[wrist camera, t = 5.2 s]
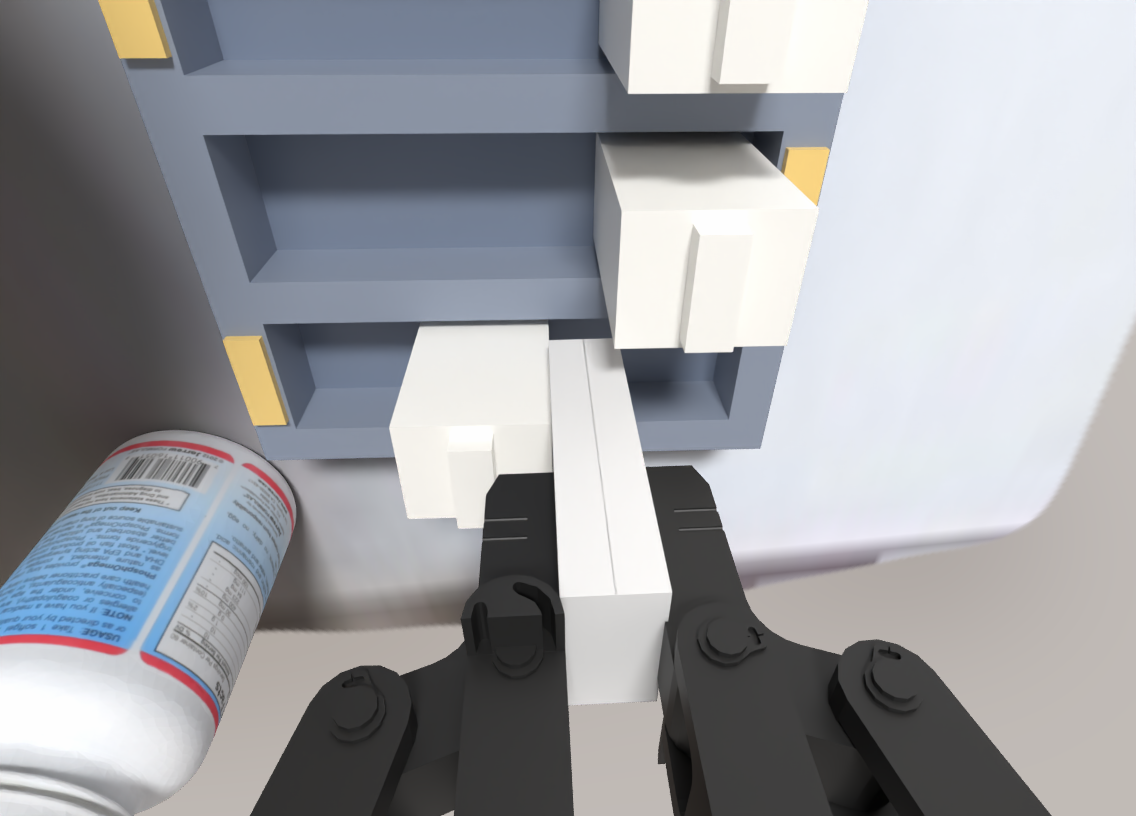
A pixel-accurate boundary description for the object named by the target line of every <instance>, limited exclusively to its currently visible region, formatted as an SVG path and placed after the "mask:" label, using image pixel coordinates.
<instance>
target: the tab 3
mask: <svg viewBox="0 0 1136 816" xmlns="http://www.w3.org/2000/svg"><path fill="white" fill-rule="evenodd" d="M818 212H819V208H818V207H817V206H816V205H815V204H814V203H813V202H812V201H811V200H810V199H809V198H808V197H807V196H805V195H804V194H803V193H802V192H801V191H800V190H799V189H798V188H797V187H796V186H795V185H794V184H793V183H792V182H791V181H790V180H789V179H788V178H787V177H786V176H785V175H784V174H783V173H781V172H780V171H779V170H778V169H777V168H776V167H775V166H774V165H773V164H772V163H771V162H770V161H769V160H768V159H767V158H766V157H765V156H764V155H763V154H762V153H761V152H760V151H759V150H758V149H756V148H755V147H754V146H753V145H752V144H751V143H750V142H749V141H748V140H747V139H746V138H745V137H744V136H743V135H742V134H741V133H740V132H739V131H730V132H596V152H595V189H594V226H593V239H594V244H595V249H596V254H597V260H598V265H599V270H600V275H601V281H602V286H603V291H604V296H605V302H606V307H607V312H608V318H609V323H610V328H611V333H612V339H613V344H614V349H637V348H683V350H684V352H685V353H710V352H733V349H734V347H746V346H787V343H788V339H789V334H790V330H791V326H792V322H793V317H794V313H795V309H796V305H797V301H798V296H799V292H800V288H801V284H802V280H803V275H804V271H805V267H806V263H807V259H808V254H809V250H810V246H811V242H812V238H813V233H814V229H815V225H816V221H817V217H818Z"/></svg>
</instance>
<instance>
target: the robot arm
mask: <svg viewBox="0 0 1136 816" xmlns="http://www.w3.org/2000/svg"><path fill="white" fill-rule="evenodd" d="M548 344H549V371H550V394H551V423H552V467H553V472H547V473H521V474H499V475H498V477H497V478H496V480H495V481H494V483H493V485H492V486H491V488H490V489H489V491H488V492H487V494H486V500H485V513H484V526H483V542H482V551H481V564H480V577H479V588H478V589H477V590H476V591H475V592H474V593H473V595H472V596H471V597H470V598H469V599H468V600H467V602H466V604H465V607H464V610H463V613H462V616H461V623H462V629H463V634H464V639H465V641H464V642H463V643H462V644H461V646H460V647H459V648H458V649H456V650H455V651H454V652H452V653H451V654H450V655H449V656H447V657H446V658H444V659H442V660H440V661H437V662H436V663H433V664H431V665H428V666H425V667H423V668H420V669H418V670H414V671H412V672H409V673H406V674H403V675H401V676H399V675H398V674H397V673H396V672H394V671H392V670H389V669H387V668H385V667H382V666H359V667H356V668H353V669H350V670H348V671H345V672H342V673H340V674H339V675H337V676H336V677H334V678H333V679H332V680H330V681H329V682H328V683H326V684H325V685H324V686H322V688H321V689H320V690H319V692H318V693H317V694H316V696H315V697H314V698H313V700H312V701H311V702H310V704H309V706H308V707H307V709H306V711H305V713H304V715H303V717H302V719H301V721H300V723H299V724H298V726H297V728H296V730H295V732H294V734H293V736H292V737H291V739H290V741H289V743H288V745H287V747H286V749H285V751H284V753H283V754H282V756H281V758H280V760H279V762H278V764H277V766H276V768H275V769H274V771H273V774H272V775H271V777H270V779H269V781H268V783H267V785H266V786H265V788H264V790H263V792H262V794H261V796H260V798H259V800H258V801H257V803H256V805H255V807H254V809H253V811H252V813H251V815H250V816H441V815H444V814H446V813H448V812H450V811H453V810H454V816H574V811H573V810H574V809H573V790H572V772H571V771H572V770H571V752H570V731H569V711H568V706H570V705H588V704H589V705H590V704H609V703H629V702H649V701H657V696H658V689H659V691H660V697H661V702H662V709H663V715H664V718H663V724H662V730H661V737H660V742H659V749H658V752H659V753H658V764H665V763H666V769H667V776H668V782H669V788H670V794H671V801H672V807H673V813H674V816H1051V815H1050V813H1049V812H1048V811H1047V810H1046V808H1045V807H1044V806H1043V805H1042V803H1041V802H1040V801H1039V800H1038V798H1037V797H1036V796H1035V795H1034V793H1033V792H1032V791H1031V790H1030V788H1029V787H1028V786H1027V785H1026V784H1025V782H1024V781H1023V780H1022V779H1021V777H1020V776H1019V775H1018V774H1017V772H1016V771H1015V770H1014V769H1013V768H1012V766H1011V765H1010V764H1009V763H1008V761H1007V760H1006V759H1005V758H1004V756H1003V755H1002V754H1001V753H1000V751H999V750H998V749H997V748H996V747H995V745H994V744H993V743H992V742H991V740H990V739H989V738H988V737H987V735H986V734H985V733H984V732H983V731H982V729H981V728H980V727H979V726H978V724H977V723H976V722H975V721H974V719H973V718H972V717H971V716H970V714H969V713H968V712H967V711H966V710H965V708H964V707H963V706H962V705H961V703H960V702H959V701H958V700H957V699H956V697H955V696H954V695H953V694H952V692H951V691H950V690H949V689H948V687H947V686H946V685H945V684H944V682H943V681H942V680H941V679H940V677H939V676H938V675H937V674H936V673H935V671H934V670H933V669H931V668H930V667H929V666H928V665H927V664H926V663H925V662H924V661H923V660H922V659H921V658H920V657H919V656H918V655H916V654H914V653H912V652H910V651H909V650H907V649H905V648H903V647H901V646H899V645H897V644H894V643H890V642H885V641H882V640H866V641H858V642H857V643H855V644H853V645H852V646H850V647H848V648H847V649H845V651H844V653H843V654H842V655H839V654H835V653H831V652H827V651H823V650H819V649H815V648H811V647H807V646H803V645H800V644H797V643H794V642H791V641H788V640H785V639H784V638H782V637H780V636H779V635H777V634H775V633H773V632H772V631H771V630H769V629H768V628H767V627H766V626H765V625H764V624H763V623H762V622H761V621H759V620H758V618H757V617H756V616H755V614H754V613H753V612H752V611H751V609H750V606H749V604H748V602H747V600H746V598H745V594H744V591H743V588H742V585H741V582H740V579H739V576H738V573H737V570H736V566H735V563H734V560H733V557H732V554H731V551H730V548H729V545H728V542H727V538H726V535H725V532H724V531H723V529H722V523H721V520H720V517H719V514H718V512H717V510H716V504H715V501H714V498H713V495H712V492H711V489H710V486H709V484H708V483H707V482H706V481H705V480H704V478H703V477H702V476H701V475H700V474H699V473H698V472H697V471H696V470H695V469H694V468H693V466H692V465H688V466H662V467H645V463H644V458H643V453H642V449H641V444H640V439H639V435H638V430H637V425H636V421H635V416H634V411H633V407H632V402H631V397H630V393H629V388H628V383H627V379H626V374H625V369H624V365H623V360H622V355H621V351H620V349H614V344H613V339H612V338H605V339H573V340H548Z"/></svg>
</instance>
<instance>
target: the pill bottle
mask: <svg viewBox="0 0 1136 816" xmlns="http://www.w3.org/2000/svg"><path fill="white" fill-rule="evenodd" d="M295 522H296V504H295V500H294V496H293V494H292V491H291V489H290V487H289V485H288V484H287V482H286V481H285V479H284V478H283V477H282V475H281V474H280V473H279V472H278V471H277V470H276V469H275V468H274V467H273V466H272V465H271V464H270V463H268V462H267V461H266V460H264V459H263V458H262V457H261V456H259V455H258V454H256V453H254V452H253V451H251V450H249V449H247V448H246V447H244V446H242V445H240V444H238V443H235V442H232V441H230V440H227V439H225V438H222V437H218V436H215V435H211V434H206V433H202V432H195V431H187V430H165V431H156V432H151V433H147V434H143V435H140V436H137V437H135V438H133V439H131V440H129V441H127V442H125V443H123V444H122V445H120V446H119V447H118V448H116V449H115V450H114V451H113V452H112V453H111V454H110V455H109V456H108V457H107V458H106V459H105V460H104V462H103V463H102V464H101V465H100V466H99V467H98V469H97V470H96V471H95V472H94V474H93V475H92V476H91V477H90V478H89V480H88V481H87V482H86V483H85V485H84V486H83V487H82V488H81V490H80V491H79V492H78V493H77V495H76V496H75V497H74V498H73V500H72V501H71V502H70V503H69V505H68V506H67V507H66V508H65V510H64V511H63V512H62V513H61V515H60V516H59V517H58V518H57V519H56V521H55V522H54V523H53V524H52V526H51V527H50V528H49V529H48V531H47V532H46V533H45V534H44V536H43V537H42V538H41V539H40V541H39V542H38V543H37V544H36V546H35V547H34V548H33V549H32V551H31V552H30V553H29V554H28V555H27V557H26V558H25V559H24V560H23V562H22V563H21V564H20V565H19V566H18V568H17V569H16V570H15V571H14V572H13V574H12V575H11V576H10V577H9V579H8V580H7V581H6V583H5V584H4V585H3V586H2V587H1V588H0V816H134V814H137V813H139V812H142V811H145V810H147V809H150V808H152V807H154V806H156V805H158V804H159V803H161V802H163V801H165V800H167V799H168V798H170V797H171V796H172V795H174V794H175V793H176V792H177V791H179V790H180V789H181V788H182V787H183V786H184V785H185V784H186V783H187V782H188V781H189V780H190V779H191V778H192V777H193V775H194V774H195V773H196V771H197V770H198V769H199V767H200V766H201V764H202V762H203V760H204V758H205V756H206V754H207V751H208V749H209V747H210V745H211V742H212V740H213V738H214V736H215V733H216V730H217V727H218V725H219V723H220V720H221V718H222V715H223V712H224V710H225V707H226V705H227V703H228V699H229V697H230V695H231V692H232V689H233V687H234V684H235V682H236V679H237V676H238V674H239V671H240V668H241V666H242V664H243V661H244V659H245V656H246V653H247V651H248V648H249V645H250V643H251V640H252V638H253V635H254V633H255V630H256V628H257V625H258V623H259V620H260V617H261V615H262V612H263V610H264V607H265V604H266V602H267V599H268V596H269V594H270V591H271V589H272V587H273V584H274V581H275V579H276V576H277V573H278V571H279V568H280V565H281V563H282V560H283V558H284V555H285V552H286V550H287V547H288V545H289V542H290V540H291V536H292V533H293V530H294V527H295Z"/></svg>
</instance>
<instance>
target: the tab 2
mask: <svg viewBox="0 0 1136 816" xmlns="http://www.w3.org/2000/svg"><path fill="white" fill-rule="evenodd" d="M868 2H869V0H600V5H599V42H598V43H599V45H600V47H601V49H602V50H603V52H604V54H605V55H606V57H607V59H608V60H609V62H610V64H611V66H612V67H613V69H614V71H615V72H616V74H617V76H618V78H619V79H620V81H621V83H622V84H623V86H624V88H625V89H626V91H627V93H628V94H700V93H847V91H848V86H849V82H850V78H851V74H852V70H853V65H854V61H855V57H856V53H857V49H858V44H859V40H860V36H861V32H862V28H863V23H864V19H865V15H866V11H867V7H868Z"/></svg>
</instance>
